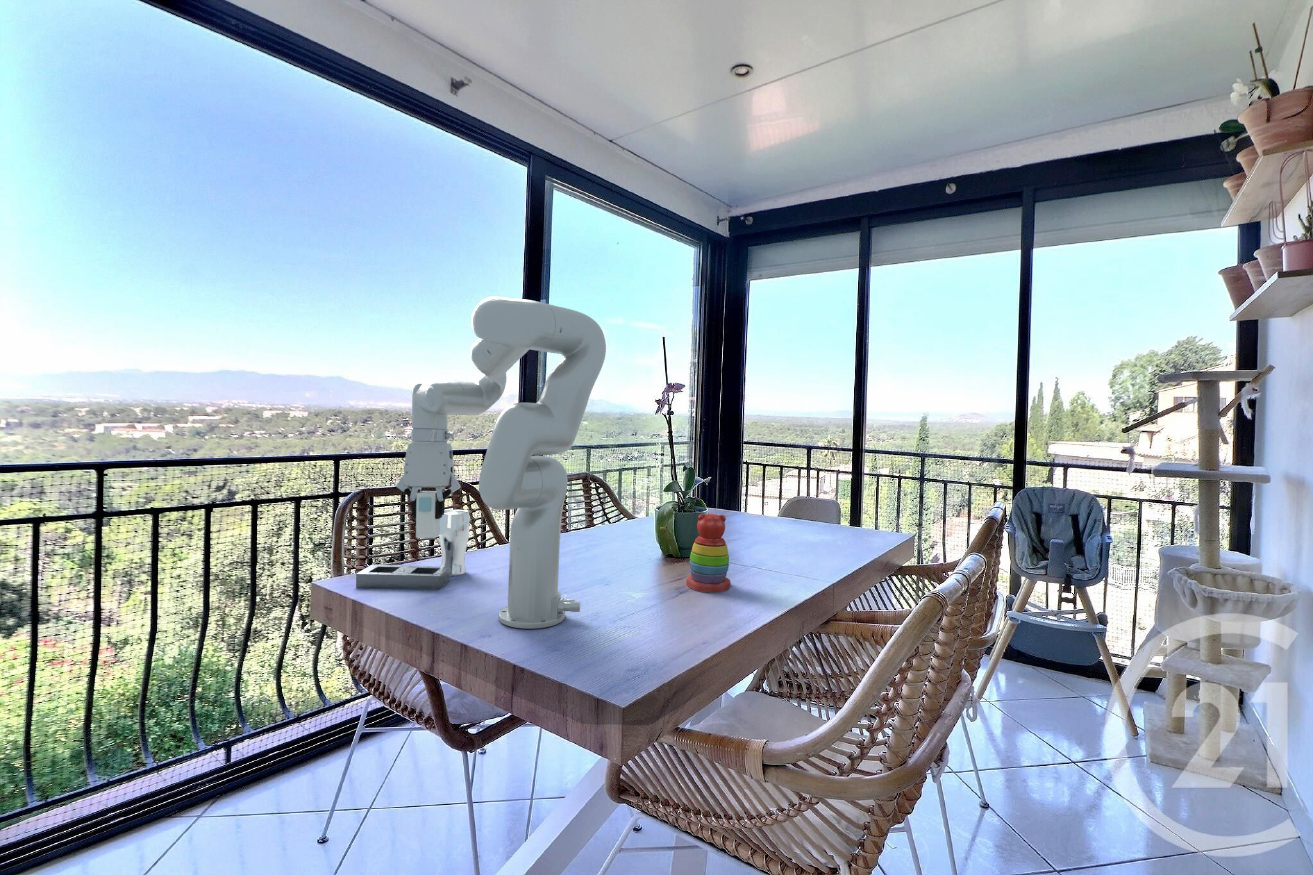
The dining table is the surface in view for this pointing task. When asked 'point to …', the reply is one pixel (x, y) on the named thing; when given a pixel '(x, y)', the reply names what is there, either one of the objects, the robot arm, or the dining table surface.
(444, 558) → the beer glass
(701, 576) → the stacking bear
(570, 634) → the dining table surface
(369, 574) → the panel
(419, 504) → the plug
